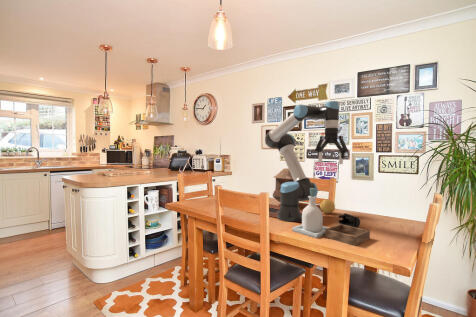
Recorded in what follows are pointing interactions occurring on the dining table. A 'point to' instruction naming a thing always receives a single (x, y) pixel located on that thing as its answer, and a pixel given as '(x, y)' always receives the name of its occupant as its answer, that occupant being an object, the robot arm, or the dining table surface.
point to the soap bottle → (312, 215)
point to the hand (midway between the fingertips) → (330, 163)
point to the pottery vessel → (281, 182)
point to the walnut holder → (336, 234)
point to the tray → (313, 234)
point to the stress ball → (327, 206)
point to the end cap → (349, 220)
